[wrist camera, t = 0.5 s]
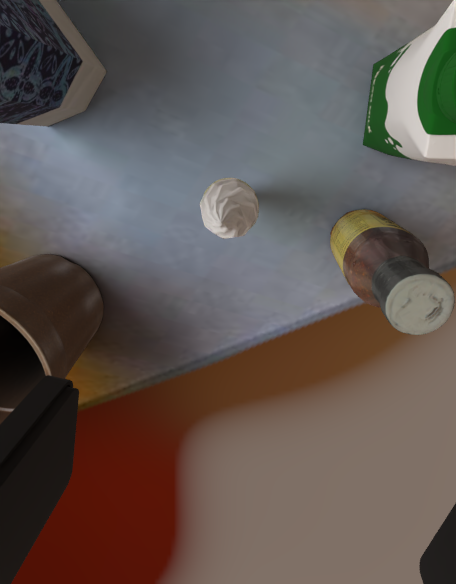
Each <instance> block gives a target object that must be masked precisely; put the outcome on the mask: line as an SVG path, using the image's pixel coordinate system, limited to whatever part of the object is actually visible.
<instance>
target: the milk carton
mask: <svg viewBox="0 0 456 584" xmlns="http://www.w3.org/2000/svg"><path fill="white" fill-rule="evenodd" d="M363 145H364V146H367V147H370V148H372V149H375V150H377V151H380V152H383V153H385V154H388V155H392V156H397V157H402V158H407V159H413V160H419V161H425V162H431V163H441V164H447V165H453V166H456V0H453V2H452V3H451V4H450V6H449V7H448V9H447V10H446V11H445V13H444V14H443V16H442V17H441V18H440V20H439V21H438V23H437V24H436V25H435V26H434V27H432V28H430V29H429V30H427V31H426V32H424V33H423V34H421V35H420V36H418V37H417V38H415V39H414V40H412V41H411V42H409V43H408V44H406V45H404V46H403V47H401V48H399V49H398V50H396V51H395V52H393V53H391V54H390V55H388V56H387V57H385V58H383V59H382V60H380V61H379V62H377V63H375V64H374V65H373V72H372V80H371V87H370V95H369V102H368V110H367V118H366V125H365V133H364V140H363Z"/></svg>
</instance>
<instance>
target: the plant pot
mask: <svg viewBox="0 0 456 584" xmlns="http://www.w3.org/2000/svg"><path fill="white" fill-rule="evenodd" d="M103 312H104V308H103V301H102V297H101V294H100V291H99V289H98V287H97V285H96V284H95V282H94V280H93V279H92V278H91V276H90V275H89V274H88V273H87V272H86V271H85V270H84V269H83V268H81V267H80V266H79V265H77V264H74V263H71V262H69V261H67V260H65V259H64V258H63V257H61V256H57V255H50V254H44V255H36V256H32V257H29V258H26V259H24V260H21V261H18V262H16V263H13V264H10V265H7V266H5V267H2V268H0V424H1V423H2V422H3V421H4V420H5V419H6V417H7V416H8V415H9V414H10V413H11V412H12V411H13V410H14V409H15V408H16V407H17V406H18V405H19V403H20V402H21V401H22V400H23V399H24V398H25V397H26V396H27V395H28V394H29V393H30V392H31V390H32V389H33V388H34V387H35V386H36V385H37V384H38V383H39V382H40V381H41V380H42V379H43V378H44V377H45V376H47V375H50V376H54V377H58V378H62V379H65V378H66V376H67V374H68V373H69V371H70V370H71V368H72V367H73V365H74V364H75V362H76V361H77V359H78V358H79V356H80V355H81V353H82V352H83V350H84V349H85V347H86V346H87V344H88V343H89V342H90V340H91V339H92V337H93V336H94V334H95V333H96V332H97V330H98V328H99V326H100V323H101V320H102V318H103Z"/></svg>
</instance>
